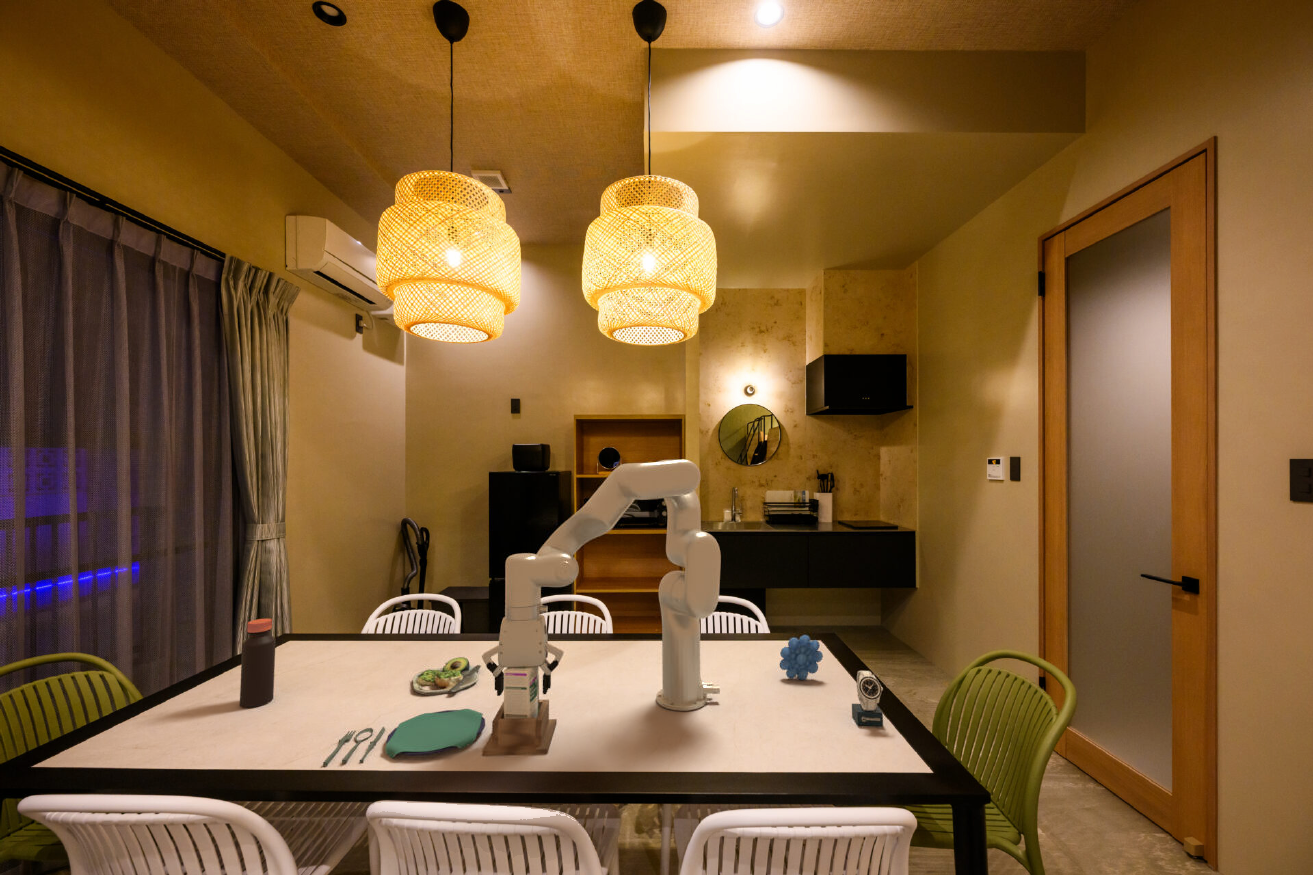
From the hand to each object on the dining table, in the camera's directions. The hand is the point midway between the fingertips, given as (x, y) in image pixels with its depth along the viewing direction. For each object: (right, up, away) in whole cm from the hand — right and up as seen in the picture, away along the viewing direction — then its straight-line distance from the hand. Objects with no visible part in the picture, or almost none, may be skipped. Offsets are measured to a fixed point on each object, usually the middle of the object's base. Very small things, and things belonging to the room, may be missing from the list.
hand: (523, 692), depth 115 cm
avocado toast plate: (-29, -12, +31) cm, 44 cm away
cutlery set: (-24, -11, -1) cm, 26 cm away
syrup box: (0, -9, -1) cm, 9 cm away
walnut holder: (0, -10, -1) cm, 10 cm away
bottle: (-71, -11, +18) cm, 74 cm away
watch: (+77, -10, +6) cm, 78 cm away
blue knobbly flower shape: (+68, -11, +31) cm, 76 cm away
